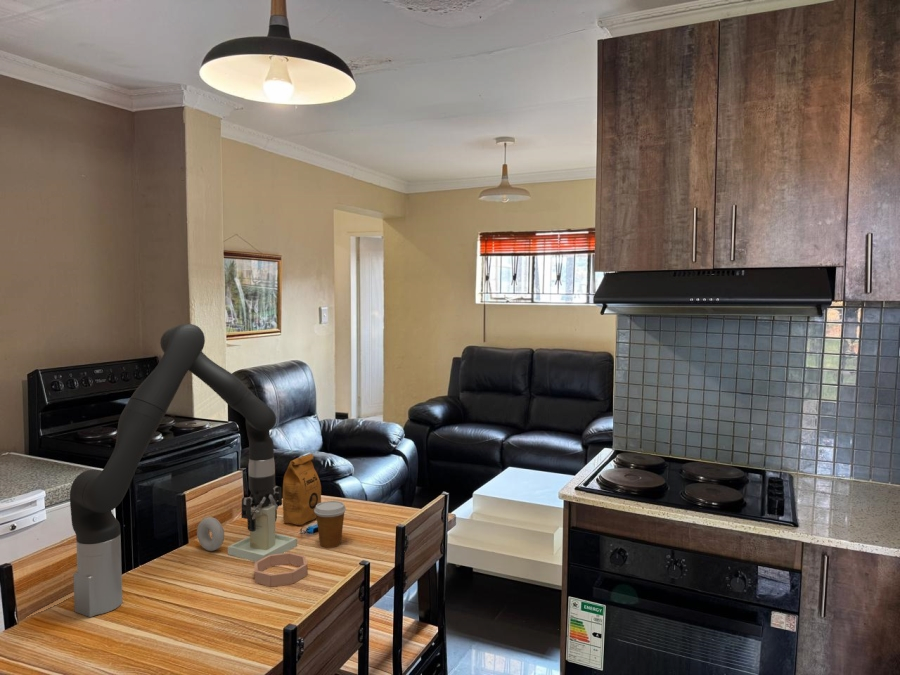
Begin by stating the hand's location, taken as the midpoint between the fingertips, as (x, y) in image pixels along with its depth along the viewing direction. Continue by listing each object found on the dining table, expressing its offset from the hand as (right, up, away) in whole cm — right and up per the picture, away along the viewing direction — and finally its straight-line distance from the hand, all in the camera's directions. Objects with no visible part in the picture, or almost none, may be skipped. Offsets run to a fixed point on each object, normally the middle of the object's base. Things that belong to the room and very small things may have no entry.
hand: (262, 526), depth 179 cm
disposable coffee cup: (+19, -7, +5) cm, 21 cm away
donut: (-16, -8, 0) cm, 17 cm away
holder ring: (+10, -8, -16) cm, 20 cm away
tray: (0, -7, 0) cm, 7 cm away
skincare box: (0, -6, 0) cm, 6 cm away
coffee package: (+6, -6, +25) cm, 27 cm away
